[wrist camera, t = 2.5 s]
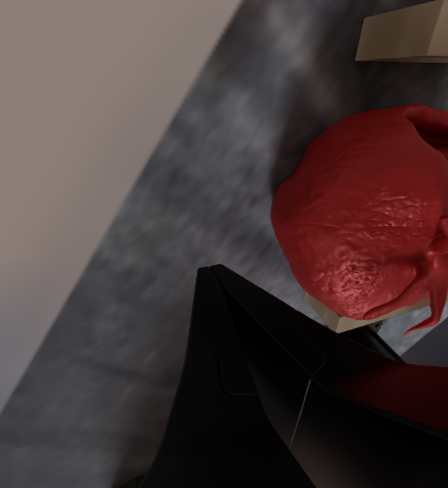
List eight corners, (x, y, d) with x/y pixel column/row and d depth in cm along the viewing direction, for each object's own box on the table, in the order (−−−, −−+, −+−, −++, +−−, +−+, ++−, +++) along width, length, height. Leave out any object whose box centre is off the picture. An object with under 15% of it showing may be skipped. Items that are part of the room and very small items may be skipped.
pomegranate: (308, 283, 20) (422, 414, 12) (218, 203, 14) (330, 360, 6) (421, 184, 18) (636, 267, 10) (372, 43, 12) (782, 4, 5)
